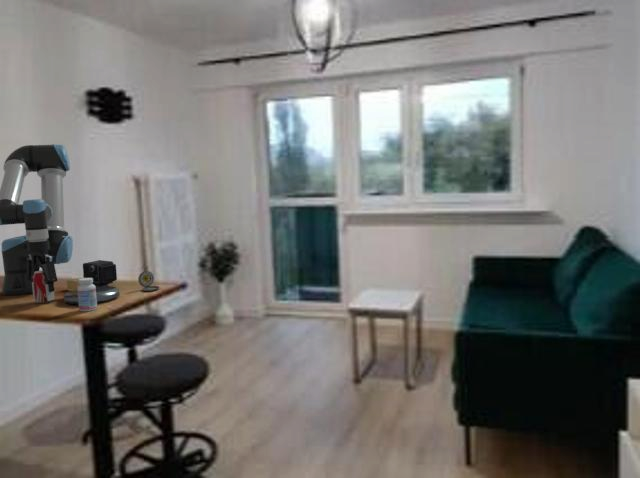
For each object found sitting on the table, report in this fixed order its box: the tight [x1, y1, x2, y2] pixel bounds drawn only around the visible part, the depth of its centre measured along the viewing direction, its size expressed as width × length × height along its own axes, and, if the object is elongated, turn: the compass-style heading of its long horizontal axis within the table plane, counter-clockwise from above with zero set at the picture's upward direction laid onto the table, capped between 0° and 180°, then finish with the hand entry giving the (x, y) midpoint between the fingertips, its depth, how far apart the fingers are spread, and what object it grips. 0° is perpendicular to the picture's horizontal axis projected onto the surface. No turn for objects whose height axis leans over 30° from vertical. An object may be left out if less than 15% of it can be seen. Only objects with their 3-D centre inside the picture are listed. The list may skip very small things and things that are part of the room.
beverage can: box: [33, 269, 52, 304], centre depth 214 cm, size 6×6×12 cm
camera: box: [82, 259, 118, 287], centre depth 239 cm, size 11×11×15 cm
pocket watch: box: [138, 264, 160, 292], centre depth 229 cm, size 8×8×10 cm
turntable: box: [63, 279, 120, 305], centre depth 216 cm, size 23×20×6 cm
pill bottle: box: [77, 277, 98, 313], centre depth 199 cm, size 6×6×11 cm
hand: (44, 299), depth 215 cm, fingers open, 8 cm apart
